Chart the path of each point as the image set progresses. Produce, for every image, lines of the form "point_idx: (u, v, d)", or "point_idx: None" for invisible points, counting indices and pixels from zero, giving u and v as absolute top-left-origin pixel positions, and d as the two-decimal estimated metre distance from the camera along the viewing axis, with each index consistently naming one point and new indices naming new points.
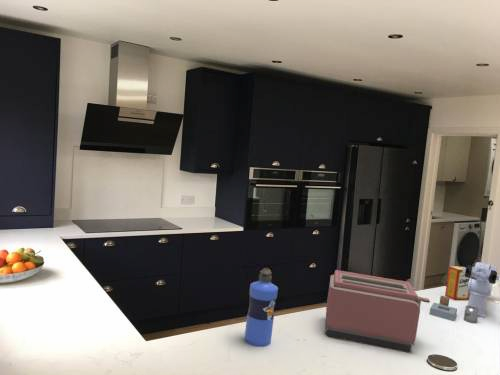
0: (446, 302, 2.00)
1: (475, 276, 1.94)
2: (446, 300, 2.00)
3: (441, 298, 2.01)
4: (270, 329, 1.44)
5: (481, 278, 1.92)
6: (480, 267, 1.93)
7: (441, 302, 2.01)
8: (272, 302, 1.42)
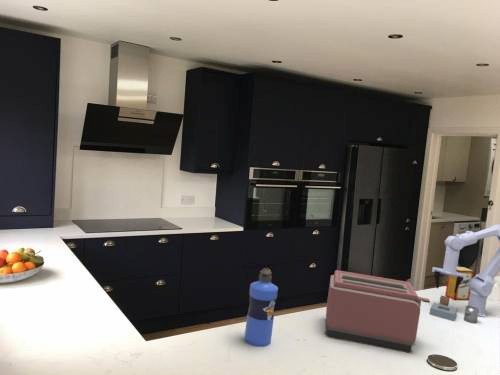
0: (446, 302, 2.00)
1: None
2: (446, 300, 2.00)
3: (441, 298, 2.01)
4: (270, 329, 1.44)
5: None
6: None
7: (441, 302, 2.01)
8: (272, 302, 1.42)
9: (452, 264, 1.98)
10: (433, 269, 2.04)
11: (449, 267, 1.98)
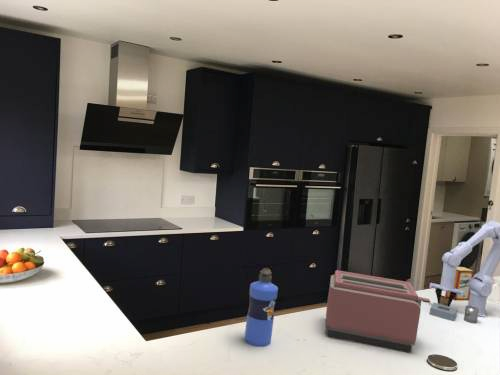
0: (446, 302, 2.00)
1: None
2: (446, 300, 2.00)
3: (441, 298, 2.01)
4: (270, 329, 1.44)
5: None
6: (444, 289, 2.00)
7: (441, 302, 2.01)
8: (272, 302, 1.42)
9: (449, 280, 1.99)
10: (430, 285, 2.04)
11: (446, 283, 1.99)
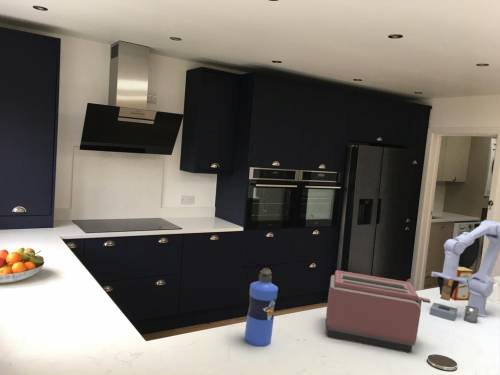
0: (448, 291, 1.93)
1: None
2: (448, 289, 1.93)
3: (443, 287, 1.94)
4: (270, 329, 1.44)
5: None
6: None
7: (443, 291, 1.94)
8: (272, 302, 1.42)
9: (452, 268, 1.91)
10: (432, 273, 1.97)
11: (448, 271, 1.91)
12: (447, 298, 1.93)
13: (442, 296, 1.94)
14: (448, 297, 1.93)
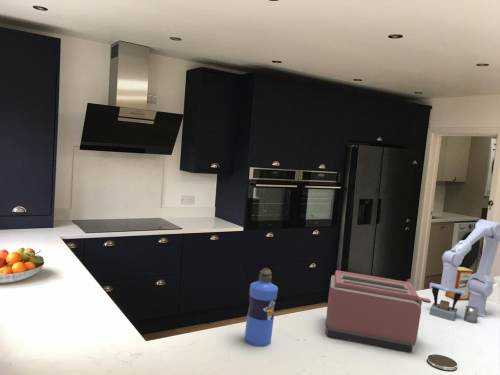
0: (446, 307, 1.93)
1: None
2: (446, 305, 1.93)
3: (441, 303, 1.94)
4: (270, 329, 1.44)
5: None
6: (444, 289, 1.92)
7: (441, 307, 1.94)
8: (272, 302, 1.42)
9: (450, 280, 1.91)
10: (430, 285, 1.97)
11: (447, 283, 1.92)
12: None
13: None
14: None
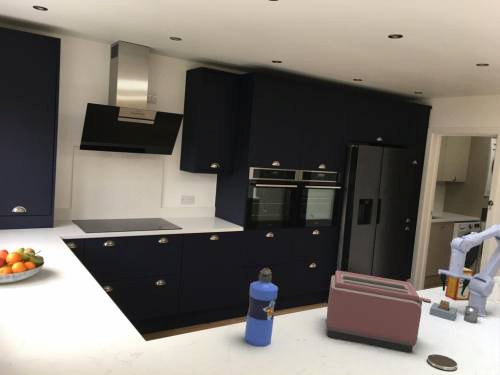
0: (446, 307, 1.93)
1: None
2: (446, 305, 1.93)
3: (441, 303, 1.94)
4: (270, 329, 1.44)
5: None
6: (453, 275, 1.96)
7: (441, 307, 1.94)
8: (272, 302, 1.42)
9: (459, 266, 1.95)
10: (439, 271, 2.00)
11: (455, 269, 1.95)
12: None
13: None
14: None
